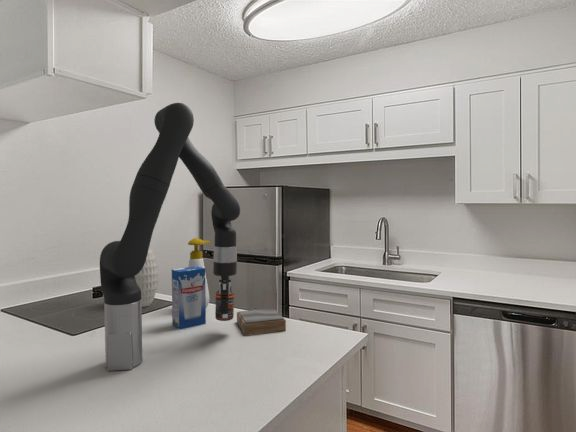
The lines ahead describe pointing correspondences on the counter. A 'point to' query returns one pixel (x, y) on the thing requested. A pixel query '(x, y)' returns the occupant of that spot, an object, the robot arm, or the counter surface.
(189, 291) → the milk carton
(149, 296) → the vase
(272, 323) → the walnut block
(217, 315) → the supplement bottle
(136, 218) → the robot arm
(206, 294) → the soap bottle
